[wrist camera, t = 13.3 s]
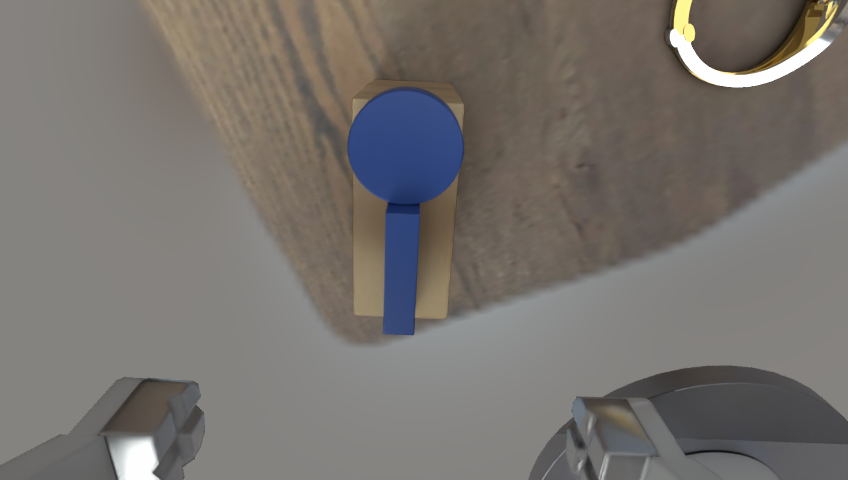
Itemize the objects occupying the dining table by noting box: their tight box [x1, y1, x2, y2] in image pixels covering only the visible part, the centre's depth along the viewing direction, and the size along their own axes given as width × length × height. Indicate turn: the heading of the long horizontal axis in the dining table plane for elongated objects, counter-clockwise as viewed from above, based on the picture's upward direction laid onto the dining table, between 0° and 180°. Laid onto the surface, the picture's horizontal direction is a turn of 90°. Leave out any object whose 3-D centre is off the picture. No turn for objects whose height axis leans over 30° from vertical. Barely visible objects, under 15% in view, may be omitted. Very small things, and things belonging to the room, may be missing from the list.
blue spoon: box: [348, 86, 464, 335], centre depth 17 cm, size 9×4×2 cm, turn 177°
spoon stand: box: [352, 79, 464, 319], centre depth 22 cm, size 9×4×8 cm, turn 177°
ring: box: [665, 0, 848, 87], centre depth 22 cm, size 7×3×8 cm
